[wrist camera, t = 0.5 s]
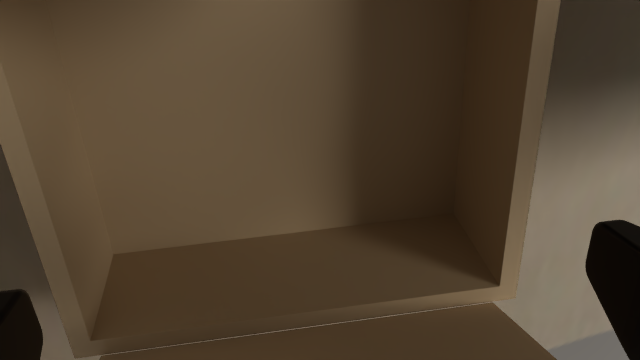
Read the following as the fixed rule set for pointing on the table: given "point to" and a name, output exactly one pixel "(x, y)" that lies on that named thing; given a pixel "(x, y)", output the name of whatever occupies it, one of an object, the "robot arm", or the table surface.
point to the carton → (270, 158)
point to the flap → (375, 340)
